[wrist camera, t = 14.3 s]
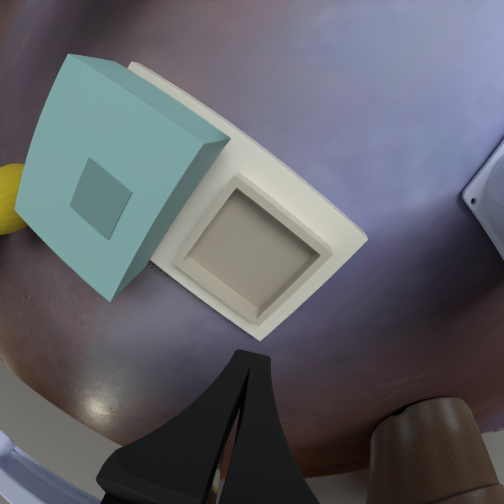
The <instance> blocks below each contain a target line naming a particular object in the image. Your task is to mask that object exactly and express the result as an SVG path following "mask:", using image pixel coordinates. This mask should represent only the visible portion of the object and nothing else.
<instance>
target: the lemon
mask: <svg viewBox="0 0 504 504" xmlns="http://www.w3.org/2000/svg"><path fill="white" fill-rule="evenodd" d="M24 166H25V164H17V163H15V164H9V165H5V166H3V167H1V168H0V235H3V234H9V233H13V232H15V231H18V230H20V229H22V228H24V227H26V226H27V225H28V224H27V223H26V222H25V221H24V220H23V219H22V218H21V216H20V215H19V214H18V213H17V212H16V211H15V210H14V209H15V204H16V199H17V194H18V190H19V185H20V181H21V177H22V173H23V169H24Z"/></svg>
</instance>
